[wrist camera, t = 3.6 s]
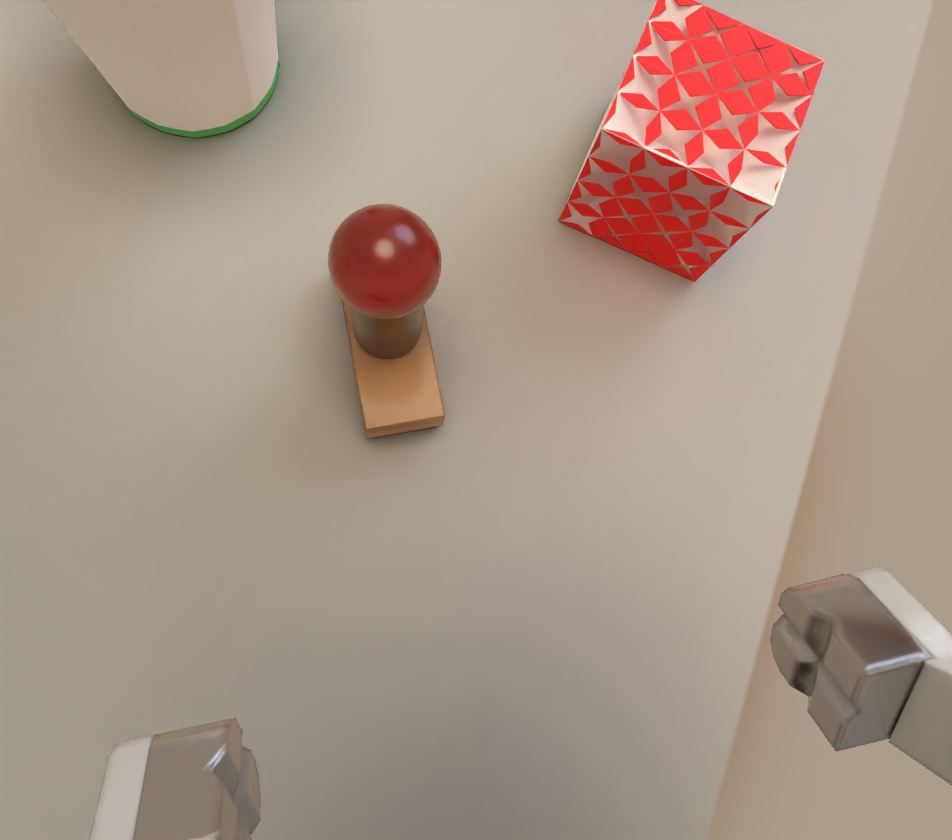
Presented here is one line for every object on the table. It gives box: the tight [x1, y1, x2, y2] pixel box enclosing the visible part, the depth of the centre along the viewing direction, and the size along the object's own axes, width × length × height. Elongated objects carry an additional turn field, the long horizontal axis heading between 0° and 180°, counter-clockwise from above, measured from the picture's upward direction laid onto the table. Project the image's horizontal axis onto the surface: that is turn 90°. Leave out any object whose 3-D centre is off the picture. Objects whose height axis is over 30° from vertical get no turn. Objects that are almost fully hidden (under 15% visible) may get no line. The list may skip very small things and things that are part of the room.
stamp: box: [328, 204, 445, 438], centre depth 29 cm, size 9×4×12 cm, turn 12°
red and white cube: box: [558, 0, 825, 281], centre depth 34 cm, size 8×8×8 cm
